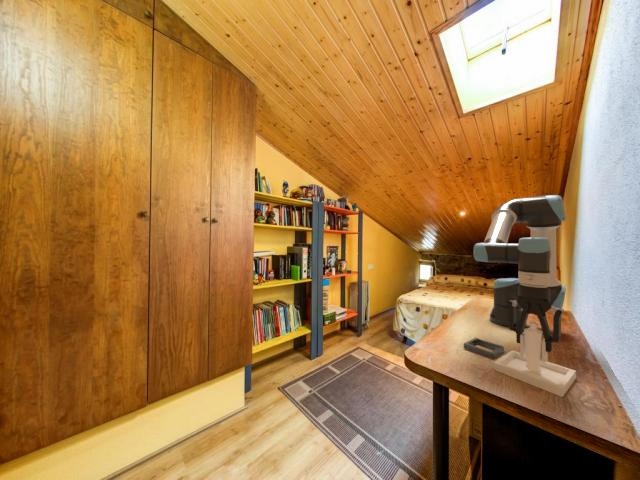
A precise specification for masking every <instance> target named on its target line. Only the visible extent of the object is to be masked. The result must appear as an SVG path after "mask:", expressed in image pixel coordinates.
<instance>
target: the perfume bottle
mask: <svg viewBox="0 0 640 480" xmlns="http://www.w3.org/2000/svg"><path fill="white" fill-rule="evenodd" d="M523 331H524V332H523V333H524V336H525V347H526V354H525V355H526V358H527V363H526V366H525V367H526V368H528V369H529V370H530V371H535V372H540V373H541V368H540V359H541V357H542V340H543V331H542V330H541V329H539V328H538V322H536V321H529V327H525V328H524V330H523Z"/></svg>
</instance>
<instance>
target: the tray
mask: <svg viewBox="0 0 640 480" xmlns="http://www.w3.org/2000/svg"><path fill="white" fill-rule="evenodd" d="M526 363H527V358H526V354H525V355H520V351H516V350H510V351H508V352H507V353H506V354H504V355H503V356H500V358H498V359H497V360H495V361H494V362H493V370H494V371H496V372H499V373H501V374H504V375H505V376H509V377H511V378H514V379H515V380H516V379H517V380H518V381H522V382H524V383H525V384H529V385H532V386H533V387H536V388H538V389H541V390H544V391H546V392H548V393H551V394H554V395H556V396H559V397H561V398H563V397H564V396H565V395H566V393H567V392H568V390H569V389H570V387H571V386H572V385H573V383H574V382H575V381H576V379H577V371H576V370H574V369H572V368H569V367H565V366H562V365H560V364H557V363H553V362H550V361H547V362H545V363H544V362H542V358H540V368H541V373H540V372H535V371H530V370H529V369H528V368H526V367H525V366H526Z"/></svg>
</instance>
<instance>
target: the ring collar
mask: <svg viewBox="0 0 640 480" xmlns="http://www.w3.org/2000/svg"><path fill="white" fill-rule="evenodd" d="M477 345H478V346H477ZM479 345H480V346H483V347H484V348H482V347H479ZM485 347H486V348H488V349H492V351H491V350H487V349H485ZM464 348H465V350H467V349H468V350H467V351H470V352H472V353H473V352H474V353H475V352H476V353H475V354H478V355H480V356H481V355H482V356H484V357H487V358H489V359H492V360H494V359H496V358H497V357H499V356H501V355H502V354H503V353H505V346H503V345H501V344H497V343H494V342H490V341H487V340H483V339H481V338H478V337H474V338H472V339H470V340H467V341H465V342H464V343H463V349H464Z"/></svg>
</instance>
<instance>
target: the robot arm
mask: <svg viewBox="0 0 640 480" xmlns="http://www.w3.org/2000/svg"><path fill="white" fill-rule="evenodd" d="M563 201H564V200H563V197H562V196H561V195H558V194H555V195H554V194H552V195H551V194H550V195H539V196H531V197H522V198H521V197H520V198H514V199H510V200H508V201H506V202H504V203H502V204H501V205H499V206H498V207H497V208H496V209H495V210H494V211H493V212H492V214H491V217H490V220H491V224H490V226H489V228H488V230H487V233H486V236H485V239H484V241H483V242H477V243H475V244H474V245H473V250H472V251H473V258H474V260H475V261H476V262H483V263H484V262H485V263H499V264H500V263H501V264H504V263H505V264H518V272H517V273H518V277H517V278H516V277H507V278H498V279H495V280H494V281H493V307H492V310H491V311H490V314H489V320H490V321H491V322H492V323H494V324H498V325H500V326H505V327H508V328H509V330H510V331H513V332H515V334H516V336H515V337H516V340H515V341H516V343H517V344H519V347H520V348H519V350H520V351H519V353H520V355H526V347H525V336H524V329H525V328H527V327H528V325H527V324H528V317H529V316H530V315H534V316H537V319H538V321H539V324H540V327H541V331H542V335H543V337H544V339H542V344H541V360H542V362H544V363H545V362H549V357H548V355H549V354H548V353H551V352H552V351H553V342H554V343H559V342H560V341H561V340H562V339H561V338H562V316H563V314H564V312H565V310H564V309H563V306H564V304H565V296H566V286H565V285H563V284H562V282H561V280H559V279H558V278H557V276H558V275H557V274H558V273H557V229H559V227H562V222H565V221H566V220H567V216H566V211H565V205H564V202H563ZM518 223H520V224H521V223H525V227H526V228H528V229H529V230H530V237H521V238H519V239H518V243H517V242H516V243H515V242H514V243H513V242H511V243H509V238H510V234H511V231H512V230H511V229H512V228H513V226H514V225H515V224H518ZM548 311H551V314H553V320H552V322H553V329H552V332H553V333H552V332H551V328H550V325H549V323H548V320H547V313H548Z"/></svg>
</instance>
